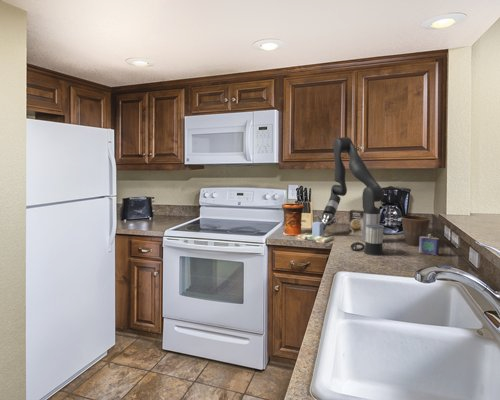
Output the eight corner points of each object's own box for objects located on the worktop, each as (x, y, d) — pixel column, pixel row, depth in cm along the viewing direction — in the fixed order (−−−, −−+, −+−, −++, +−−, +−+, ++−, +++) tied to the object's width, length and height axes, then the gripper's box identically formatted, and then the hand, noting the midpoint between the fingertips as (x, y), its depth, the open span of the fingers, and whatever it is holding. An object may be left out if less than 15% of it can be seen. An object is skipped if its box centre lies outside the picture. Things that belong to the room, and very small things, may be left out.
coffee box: (348, 234, 229) (349, 210, 227) (350, 233, 234) (351, 209, 233) (362, 236, 224) (363, 211, 223) (364, 234, 230) (365, 210, 228)
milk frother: (384, 256, 177) (385, 227, 175) (352, 254, 180) (353, 226, 178) (379, 249, 191) (380, 222, 189) (349, 248, 194) (350, 221, 192)
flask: (418, 253, 182) (419, 233, 181) (419, 252, 184) (420, 232, 183) (438, 256, 177) (439, 235, 175) (438, 255, 179) (440, 234, 178)
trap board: (332, 239, 214) (332, 236, 214) (324, 243, 205) (324, 239, 205) (306, 235, 225) (306, 232, 225) (297, 238, 216) (297, 235, 216)
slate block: (322, 235, 218) (323, 222, 217) (319, 236, 214) (319, 223, 213) (315, 234, 221) (316, 221, 220) (312, 235, 217) (312, 222, 216)
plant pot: (425, 249, 191) (427, 220, 189) (397, 245, 200) (398, 218, 198) (430, 244, 203) (432, 217, 201) (403, 240, 212) (404, 214, 210)
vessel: (281, 235, 225) (281, 205, 223) (281, 231, 239) (282, 202, 238) (303, 236, 224) (304, 205, 222) (302, 232, 238) (303, 203, 236)
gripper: (320, 204, 232) (311, 224, 224) (338, 206, 224) (330, 227, 216) (323, 211, 237) (314, 231, 229) (341, 213, 229) (333, 234, 221)
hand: (322, 229), depth 222 cm, fingers closed
